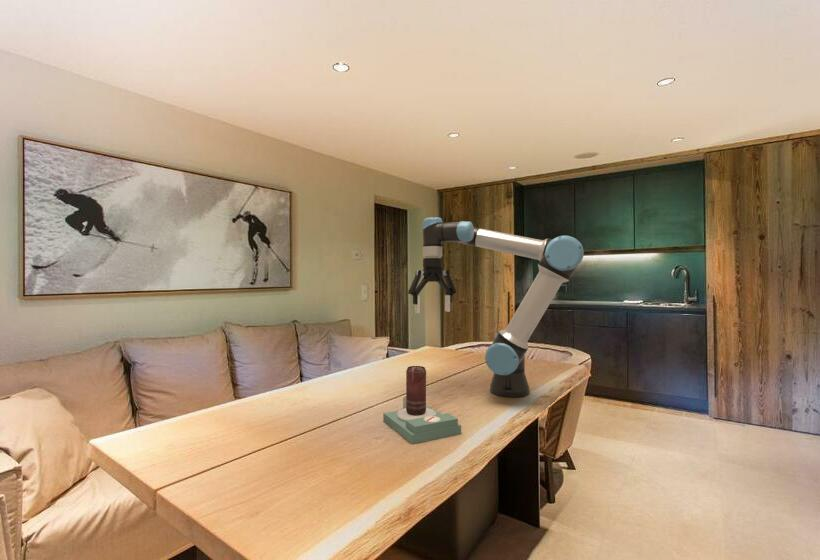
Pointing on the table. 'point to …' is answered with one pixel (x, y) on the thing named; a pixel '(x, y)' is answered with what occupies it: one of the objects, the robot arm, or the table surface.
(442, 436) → the scale
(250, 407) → the table surface
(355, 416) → the table surface
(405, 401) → the spacer
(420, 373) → the can
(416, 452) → the table surface
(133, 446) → the table surface
